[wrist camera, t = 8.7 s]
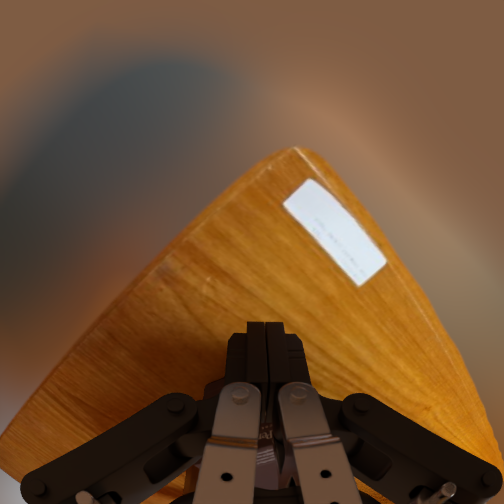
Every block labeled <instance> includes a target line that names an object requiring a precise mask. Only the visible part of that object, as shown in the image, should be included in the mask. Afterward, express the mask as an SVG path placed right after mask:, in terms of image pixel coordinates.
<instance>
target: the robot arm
mask: <svg viewBox="0 0 504 504" xmlns="http://www.w3.org/2000/svg"><path fill="white" fill-rule="evenodd" d="M265 412H266V423H272V425H273V433H272V444H273V451H274V457H275V463H276V469H277V476H278V490H268V489H263V488H258V487H254V486H255V474H256V462H257V450H258V438H259V435H260V428H261V423H264V420H265ZM202 456H203V457H202ZM201 457H202V461H201V466H200V470H199V475H198V480H197V484H196V489H195V491H193V492H190V493H187V494H185V495H183V496H180V497H179V498H177V499H175V500H174V501H172V502H171V503H169V504H381V503H380V502H378V501H377V500H375V499H374V498H373V497H371V496H370V495H368V494H366V493H364V492H362V491H360V490H358V488H357V485H356V482H355V479H354V476H355V477H356V478H357V479H359V480H360V481H362V482H363V483H365V484H366V485H368V486H369V487H371V488H372V489H374V490H375V491H377V492H378V493H380V494H381V495H383V496H384V497H386V498H387V499H389V500H390V501H392V502H394V503H395V504H485V503H486V502H487V501H489V500H490V499H491V498H492V497H493V496H495V495H496V494H497V493H498V492H499V491H500V489H501V487H502V483H503V478H502V474H501V472H500V470H499V469H498V468H497V467H495V466H494V465H492V464H490V463H488V462H486V461H484V460H482V459H480V458H478V457H476V456H474V455H472V454H471V453H469V452H467V451H465V450H463V449H461V448H459V447H458V446H456V445H454V444H452V443H450V442H448V441H447V440H445V439H443V438H441V437H439V436H438V435H436V434H434V433H432V432H431V431H429V430H427V429H425V428H424V427H422V426H420V425H419V424H417V423H415V422H413V421H412V420H410V419H408V418H407V417H405V416H403V415H402V414H400V413H398V412H397V411H395V410H393V409H392V408H390V407H388V406H387V405H385V404H383V403H382V402H380V401H379V400H377V399H375V398H374V397H372V396H370V395H368V394H364V393H354V394H351V395H349V396H347V397H346V398H345V399H344V400H343V401H340V400H334V399H329V398H326V397H323V396H321V395H320V394H318V392H317V391H316V389H315V388H314V387H312V385H311V381H310V376H309V371H308V367H307V362H306V359H305V353H304V349H303V344H302V341H301V340H300V339H299V337H298V336H297V335H296V334H285V331H284V325H283V322H265V324H264V322H247V333H234V334H233V335H232V336H231V338H230V339H229V340H228V348H227V359H226V369H225V380H224V386H223V389H222V390H221V391H220V392H219V393H218V394H217V395H215V396H214V397H211V398H209V399H204V400H199V401H195V400H194V399H193V398H192V397H191V396H189V395H187V394H184V393H170V394H166V395H164V396H162V397H161V398H159V399H158V400H156V401H155V402H153V403H151V404H150V405H148V406H147V407H145V408H144V409H142V410H140V411H139V412H137V413H136V414H134V415H132V416H131V417H129V418H127V419H126V420H124V421H122V422H121V423H119V424H117V425H116V426H114V427H112V428H111V429H109V430H107V431H106V432H104V433H102V434H100V435H99V436H97V437H95V438H93V439H92V440H90V441H88V442H86V443H85V444H83V445H81V446H79V447H77V448H76V449H74V450H72V451H70V452H68V453H66V454H65V455H63V456H61V457H59V458H57V459H55V460H53V461H51V462H49V463H47V464H45V465H43V466H41V467H40V468H38V469H36V470H33V471H31V472H30V473H28V474H27V475H25V476H24V478H23V479H22V481H21V485H20V491H21V494H22V497H23V499H24V500H25V502H27V503H28V504H140V503H141V502H143V501H144V500H146V499H147V498H148V497H150V496H151V495H153V494H154V493H156V492H157V491H158V490H160V489H161V488H163V487H164V486H165V485H167V484H168V483H169V482H171V481H172V480H174V479H175V478H176V477H178V476H179V475H180V474H181V473H183V472H184V471H185V470H187V469H188V468H189V467H191V466H192V465H193V464H194V463H196V462H197V461H198V460H199V459H200V458H201Z"/></svg>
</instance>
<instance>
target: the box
mask: <svg viewBox="0 0 504 504" xmlns="http://www.w3.org/2000/svg"><path fill="white" fill-rule="evenodd" d="M224 380H225V378H223V379H220V380H218V381H216V382H213V383H210V384H208V385H206V386H205V389H204V396H203V400H204V399H209V398H211V397H214V396H215V395H217V394H218V393H219V392H220V391H221V390H222V389H223V386H224ZM272 433H273V425H272V423H266V412H265V420H264V423H261V428H260V435H259V438H258V450H257V462H256V474H255V486H254V487H258V488H263V489H268V490H275V489H278V476H277V469H276V463H275V457H274V451H273V444H272ZM202 457H203V456H202ZM202 457H201V458H200V459H199V460H198V461H197V462H196V463H194V465H195V466H196V467H198V468H199V469H200V466H201V461H202Z"/></svg>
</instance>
